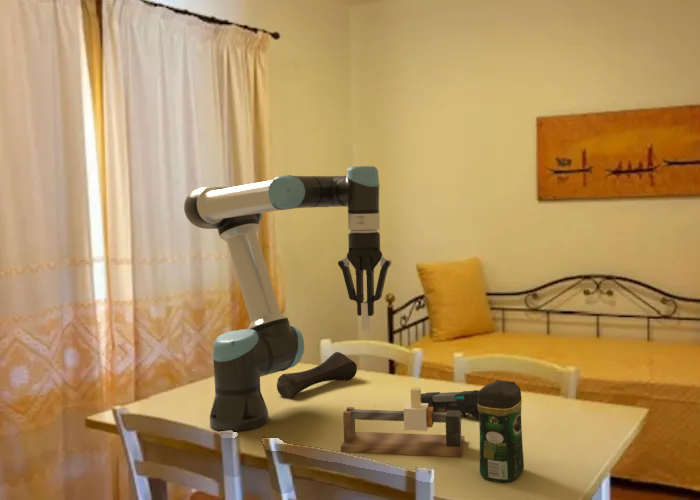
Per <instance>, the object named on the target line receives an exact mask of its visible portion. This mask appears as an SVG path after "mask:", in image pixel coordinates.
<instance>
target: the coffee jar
mask: <svg viewBox="0 0 700 500" xmlns="http://www.w3.org/2000/svg"><path fill="white" fill-rule="evenodd" d="M477 391H478V393H477V395H478V404H477V405H478V411H479V421H478V422H479V473H480V476H482V477H484V478H485V479H487V480H489V481H491V482H492V481H493V482H497V483H500V482H512V481H514V480H516V479H517V478H519V476H520V475H521V474H522V473H523V471H524V469H525V468H524V466H525V463H524V460H525V459H524V449H523V447H524V446H523V430H522V401H523V400H522V391H521V387H520V386H519V385H518V384H517V383H516V382H515V381H510V380H509V381H508V380H499V379H497V380H496V379H495V381H493V382H490V383H488V384H487V385H485V386H483V387H482V388H480V389H479V390H477Z"/></svg>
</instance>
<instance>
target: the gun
mask: <svg viewBox="0 0 700 500" xmlns="http://www.w3.org/2000/svg"><path fill="white" fill-rule="evenodd" d="M478 391H479V390H478V389H475V390H463V391H451V392H440V391H435V392H434V391H433V392H424V393H421V403H428V406H429V407H433V411H436V410H444V412H447V410H457V411H461V415H462V416H463V417H464V418H466V417H468V416H470V415H471V416H472V417H473V418H474V419H475V420H476V421H477V422H479V411H478V405H477V404H478V395H477V393H478Z"/></svg>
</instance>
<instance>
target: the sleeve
mask: <svg viewBox="0 0 700 500" xmlns="http://www.w3.org/2000/svg"><path fill="white" fill-rule="evenodd" d="M421 389H422V388H421V387H412V386H411V388H410V402H406V403H405V406H404V407H403V411H404V421H403V427H404V428H403V429H404V431H417V432H418V431H421V432H428V428H429V427H428V426H427V410H428V408H429V406H428V403H421V394H422V393H421V392H422V391H421Z"/></svg>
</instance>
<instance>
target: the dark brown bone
mask: <svg viewBox="0 0 700 500" xmlns="http://www.w3.org/2000/svg"><path fill="white" fill-rule="evenodd" d="M357 372H358V367H357V363H356V362H355V361H354V360H352V359H351V358H349V357H348V356H347V355H345V353H344V354H343V353H342V352H339V351H335V352H334V353H333V354H332V353H331V355H330V356H329V357H328V358H327V359H326V360H325V361H324V362H322V363H321V364H318V365H317V366H315V367H312V368H310V369H306V370H303V371H299V372H292V373H291V372H290V373H288V372H287V373H282V374H281V375H280V376H279V377H278V378H277V382H276V391H277V392H278V394H279V395H280V396H281V397H283V398H285V399H293V398H294V397H296V396H297V395H298V394H299V393H301V392H302V391H304V390H305V389H307V388H309V387H312V386H314V385H317V384H319V383H323V382H331V381H341V382H342V381H344V382H345V381H347V382H348V380H350V381H352V379H353V378H355V376H356V374H357Z"/></svg>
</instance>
